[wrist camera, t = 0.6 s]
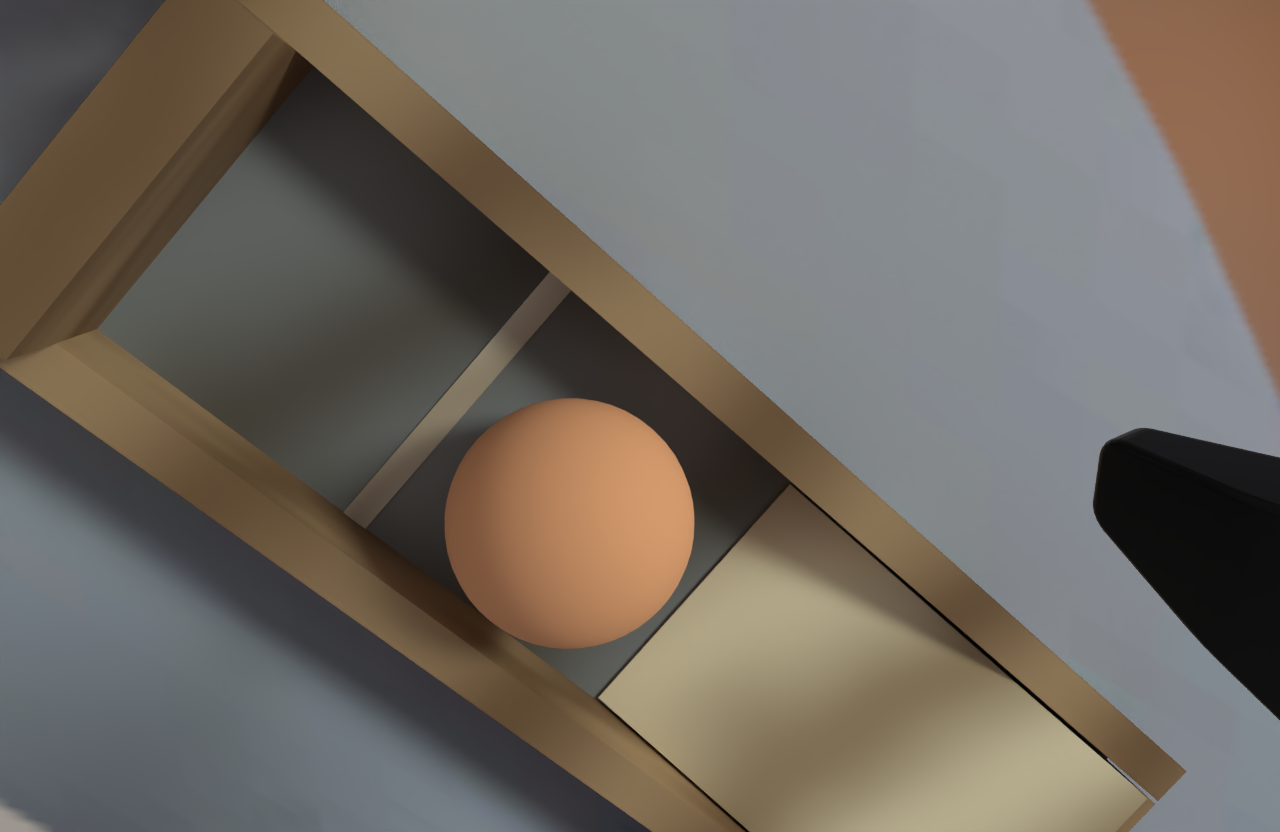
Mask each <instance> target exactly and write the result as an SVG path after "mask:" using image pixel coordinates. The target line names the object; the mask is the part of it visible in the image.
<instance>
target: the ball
mask: <svg viewBox="0 0 1280 832" xmlns="http://www.w3.org/2000/svg"><path fill="white" fill-rule="evenodd" d="M693 539H694V508H693V500H692V496H691V491H690V487H689V485H688V482H687V479H686V477H685V474H684V472H683V469H682V467H681V465H680V464H679V462H678V460H677V458H676V456H675V455H674V453H673V452H672V450H671V449H670V448H669V446H668V445H667V444H666V442H665V441H664V440H663V439H662V438H661V437H660V436H659V435H658V434H657V433H656V432H655V431H654V430H653V429H652V428H650V427H649V426H648V425H647V424H645V423H644V422H643V421H641V420H640V419H639V418H637V417H635V416H634V415H632V414H630V413H628V412H627V411H625V410H622V409H620V408H618V407H615V406H613V405H610V404H606V403H602V402H599V401H594V400H587V399H579V398H562V399H554V400H546V401H542V402H539V403H535V404H531V405H529V406H526V407H524V408H521V409H519V410H516V411H515V412H513V413H511V414H509V415H507V416H506V417H504V418H502V419H501V420H499V421H498V422H497V423H495V424H494V425H492V426H491V427H490V428H488V429H487V430H486V431H485V432H484V433H483V434H482V435H481V436H480V437H479V438H478V439H477V440H476V441H475V443H474V444H473V445H472V446H471V448H470V449H469V450H468V451H467V453H466V455H465V456H464V458H463V460H462V461H461V463H460V465H459V467H458V469H457V471H456V473H455V476H454V478H453V480H452V483H451V486H450V490H449V493H448V497H447V501H446V509H445V540H446V546H447V553H448V556H449V559H450V563H451V566H452V569H453V571H454V573H455V575H456V578H457V580H458V582H459V584H460V586H461V587H462V589H463V591H464V592H465V594H466V595H467V597H468V598H469V600H470V601H471V602H472V603H473V605H474V606H475V607H476V608H477V609H478V610H479V611H480V612H481V613H482V614H483V615H484V616H485V617H486V618H487V619H488V620H490V621H491V622H492V623H493V624H495V625H496V626H498V627H499V628H501V629H502V630H504V631H505V632H507V633H509V634H511V635H513V636H514V637H516V638H518V639H521V640H523V641H526V642H529V643H532V644H535V645H540V646H544V647H549V648H560V649H578V648H586V647H592V646H597V645H601V644H604V643H608V642H611V641H613V640H616V639H618V638H620V637H623V636H625V635H627V634H628V633H630V632H632V631H634V630H635V629H637V628H639V627H640V626H641V625H643V624H644V623H645V622H647V621H648V620H649V619H650V618H652V617H653V616H654V615H655V614H656V613H657V612H658V611H659V610H660V609H661V608H662V607H663V605H664V604H665V603H666V602H667V601H668V599H669V598H670V597H671V595H672V594H673V592H674V591H675V589H676V587H677V586H678V584H679V582H680V580H681V578H682V576H683V573H684V571H685V569H686V567H687V564H688V561H689V557H690V554H691V550H692V544H693Z"/></svg>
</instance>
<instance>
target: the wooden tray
mask: <svg viewBox="0 0 1280 832" xmlns="http://www.w3.org/2000/svg"><path fill="white" fill-rule="evenodd" d="M0 368H1V369H3V370H4V371H5V372H7V373H8V374H10V375H11V376H12V377H14V378H15V379H17V380H18V381H19V382H21V383H22V384H24V385H25V386H26V387H28V388H29V389H31V390H32V391H34V392H35V393H36V394H38V395H39V396H41V397H42V398H43V399H45V400H46V401H48V402H49V403H50V404H52V405H53V406H55V407H56V408H57V409H59V410H60V411H62V412H63V413H64V414H66V415H67V416H69V417H70V418H71V419H73V420H74V421H76V422H77V423H78V424H80V425H81V426H83V427H84V428H86V429H87V430H88V431H90V432H91V433H93V434H94V435H95V436H97V437H98V438H100V439H101V440H102V441H104V442H105V443H107V444H108V445H109V446H111V447H112V448H114V449H115V450H116V451H118V452H119V453H121V454H122V455H123V456H125V457H126V458H128V459H129V460H131V461H132V462H133V463H135V464H136V465H138V466H139V467H140V468H142V469H143V470H145V471H146V472H147V473H149V474H150V475H152V476H153V477H154V478H156V479H157V480H159V481H160V482H161V483H163V484H164V485H166V486H167V487H168V488H170V489H171V490H173V491H174V492H175V493H177V494H178V495H180V496H181V497H183V498H184V499H185V500H187V501H188V502H190V503H191V504H192V505H194V506H195V507H197V508H198V509H199V510H201V511H202V512H204V513H205V514H206V515H208V516H209V517H211V518H212V519H213V520H215V521H216V522H218V523H219V524H220V525H222V526H223V527H225V528H226V529H227V530H229V531H230V532H232V533H233V534H235V535H236V536H237V537H239V538H240V539H242V540H243V541H244V542H246V543H247V544H249V545H250V546H251V547H253V548H254V549H256V550H257V551H258V552H260V553H261V554H263V555H264V556H265V557H267V558H268V559H270V560H271V561H272V562H274V563H275V564H277V565H278V566H279V567H281V568H282V569H284V570H285V571H287V572H288V573H289V574H291V575H292V576H294V577H295V578H296V579H298V580H299V581H301V582H302V583H303V584H305V585H306V586H308V587H309V588H310V589H312V590H313V591H315V592H316V593H317V594H319V595H320V596H322V597H323V598H324V599H326V600H327V601H329V602H330V603H331V604H333V605H334V606H336V607H337V608H339V609H340V610H341V611H343V612H344V613H346V614H347V615H348V616H350V617H351V618H353V619H354V620H355V621H357V622H358V623H360V624H361V625H362V626H364V627H365V628H367V629H368V630H369V631H371V632H372V633H374V634H375V635H376V636H378V637H379V638H381V639H382V640H383V641H385V642H386V643H388V644H389V645H391V646H392V647H393V648H395V649H396V650H398V651H399V652H400V653H402V654H403V655H405V656H406V657H407V658H409V659H410V660H412V661H413V662H414V663H416V664H417V665H419V666H420V667H421V668H423V669H424V670H426V671H427V672H428V673H430V674H431V675H433V676H434V677H435V678H437V679H438V680H440V681H441V682H443V683H444V684H445V685H447V686H448V687H450V688H451V689H452V690H454V691H455V692H457V693H458V694H459V695H461V696H462V697H464V698H465V699H466V700H468V701H469V702H471V703H472V704H473V705H475V706H476V707H478V708H479V709H480V710H482V711H483V712H485V713H486V714H487V715H489V716H490V717H492V718H493V719H495V720H496V721H497V722H499V723H500V724H502V725H503V726H504V727H506V728H507V729H509V730H510V731H511V732H513V733H514V734H516V735H517V736H518V737H520V738H521V739H523V740H524V741H525V742H527V743H528V744H530V745H531V746H532V747H534V748H535V749H537V750H538V751H539V752H541V753H542V754H544V755H545V756H547V757H548V758H549V759H551V760H552V761H554V762H555V763H556V764H558V765H559V766H561V767H562V768H563V769H565V770H566V771H568V772H569V773H570V774H572V775H573V776H575V777H576V778H577V779H579V780H580V781H582V782H583V783H584V784H586V785H587V786H589V787H590V788H591V789H593V790H594V791H596V792H597V793H599V794H600V795H601V796H603V797H604V798H606V799H607V800H608V801H610V802H611V803H613V804H614V805H615V806H617V807H618V808H620V809H621V810H622V811H624V812H625V813H627V814H628V815H629V816H631V817H632V818H634V819H635V820H636V821H638V822H639V823H641V824H642V825H644V826H645V827H646V828H648V829H649V830H651V831H652V832H1129V831H1130V830H1131V829H1132V828H1133V827H1134V825H1135V824H1136V823H1137V822H1138V821H1139V820H1140V819H1141V818H1142V817H1143V816H1144V815H1145V814H1146V813H1147V812H1148V811H1149V810H1150V809H1151V808H1152V807H1153V806H1154V805H1155V804H1154V803H1153V802H1152V801H1151V800H1150V799H1149V798H1148V797H1147V796H1146V795H1145V794H1144V793H1143V792H1141V791H1140V790H1139V789H1138V788H1137V787H1136V786H1135V785H1134V784H1133V783H1132V782H1131V781H1130V780H1128V779H1127V778H1126V777H1125V776H1124V775H1123V774H1122V773H1121V772H1120V771H1119V770H1118V769H1116V768H1115V767H1114V766H1113V765H1112V764H1111V763H1110V762H1109V761H1108V760H1107V758H1109V759H1110V760H1111V761H1112V762H1114V763H1115V764H1116V765H1117V766H1118V767H1119V768H1121V769H1122V770H1123V771H1124V772H1125V773H1126V774H1127V775H1129V776H1130V777H1131V778H1132V779H1133V780H1134V781H1135V782H1137V783H1138V784H1139V785H1140V786H1141V787H1142V788H1143V789H1145V790H1146V791H1147V792H1148V793H1149V794H1150V795H1152V796H1153V797H1154V798H1155V799H1156V800H1157V801H1159V799H1160V798H1161V797H1162V796H1163V795H1164V794H1165V793H1166V792H1167V791H1168V790H1169V789H1170V788H1171V787H1172V786H1173V785H1174V784H1175V783H1176V782H1177V781H1178V780H1179V779H1180V778H1181V777H1182V776H1183V775H1184V773H1185V772H1186V770H1184V769H1183V768H1182V767H1181V766H1180V765H1179V764H1178V763H1177V762H1175V761H1174V760H1173V759H1172V758H1171V757H1170V756H1169V755H1168V754H1167V753H1165V752H1164V751H1163V750H1162V749H1161V748H1160V747H1159V746H1158V745H1156V744H1155V743H1154V742H1153V741H1152V740H1151V739H1150V738H1149V737H1147V736H1146V735H1145V734H1144V733H1143V732H1142V731H1141V730H1140V729H1139V728H1137V727H1136V726H1135V725H1134V724H1133V723H1132V722H1131V721H1130V720H1128V719H1127V718H1126V717H1125V716H1124V715H1123V714H1122V713H1121V712H1120V711H1118V710H1117V709H1116V708H1115V707H1114V706H1113V705H1112V704H1111V703H1109V702H1108V701H1107V700H1106V699H1105V698H1104V697H1103V696H1102V695H1100V694H1099V693H1098V692H1097V691H1096V690H1095V689H1094V688H1093V687H1092V686H1090V685H1089V684H1088V683H1087V682H1086V681H1085V680H1084V679H1083V678H1081V677H1080V676H1079V675H1078V674H1077V673H1076V672H1075V671H1074V670H1072V669H1071V668H1070V667H1069V666H1068V665H1067V664H1066V663H1065V662H1064V661H1062V660H1061V659H1060V658H1059V657H1058V656H1057V655H1056V654H1055V653H1053V652H1052V651H1051V650H1050V649H1049V648H1048V647H1047V646H1046V645H1045V644H1043V643H1042V642H1041V641H1040V640H1039V639H1038V638H1037V637H1036V636H1034V635H1033V634H1032V633H1031V632H1030V631H1029V630H1028V629H1027V628H1025V627H1024V626H1023V625H1022V624H1021V623H1020V622H1019V621H1018V620H1017V619H1015V618H1014V617H1013V616H1012V615H1011V614H1010V613H1009V612H1008V611H1006V610H1005V609H1004V608H1003V607H1002V606H1001V605H1000V604H999V603H998V602H996V601H995V600H994V599H993V598H992V597H991V596H990V595H989V594H987V593H986V592H985V591H984V590H983V589H982V588H981V587H980V586H978V585H977V584H976V583H975V582H974V581H973V580H972V579H971V578H970V577H968V576H967V575H966V574H965V573H964V572H963V571H962V570H961V569H959V568H958V567H957V566H956V565H955V564H954V563H953V562H952V561H950V560H949V559H948V558H947V557H946V556H945V555H944V554H943V553H942V552H940V551H939V550H938V549H937V548H936V547H935V546H934V545H933V544H931V543H930V542H929V541H928V540H927V539H926V538H925V537H924V536H923V535H921V534H920V533H919V532H918V531H917V530H916V529H915V528H914V527H912V526H911V525H910V524H909V523H908V522H907V521H906V520H905V519H903V518H902V517H901V516H900V515H899V514H898V513H897V512H896V511H895V510H893V509H892V508H891V507H890V506H889V505H888V504H887V503H886V502H884V501H883V500H882V499H881V498H880V497H879V496H878V495H877V494H876V493H874V492H873V491H872V490H871V489H870V488H869V487H868V486H867V485H865V484H864V483H863V482H862V481H861V480H860V479H859V478H858V477H856V476H855V475H854V474H853V473H852V472H851V471H850V470H849V469H848V468H846V467H845V466H844V465H843V464H842V463H841V462H840V461H839V460H837V459H836V458H835V457H834V456H833V455H832V454H831V453H830V452H828V451H827V450H826V449H825V448H824V447H823V446H822V445H821V444H820V443H818V442H817V441H816V440H815V439H814V438H813V437H812V436H811V435H809V434H808V433H807V432H806V431H805V430H804V429H803V428H802V427H801V426H799V425H798V424H797V423H796V422H795V421H794V420H793V419H792V418H790V417H789V416H788V415H787V414H786V413H785V412H784V411H783V410H781V409H780V408H779V407H778V406H777V405H776V404H775V403H774V402H773V401H771V400H770V399H769V398H768V397H767V396H766V395H765V394H764V393H762V392H761V391H760V390H759V389H758V388H757V387H756V386H755V385H754V384H752V383H751V382H750V381H749V380H748V379H747V378H746V377H745V376H743V375H742V374H741V373H740V372H739V371H738V370H737V369H736V368H734V367H733V366H732V365H731V364H730V363H729V362H728V361H727V360H726V359H724V358H723V357H722V356H721V355H720V354H719V353H718V352H717V351H715V350H714V349H713V348H712V347H711V346H710V345H709V344H708V343H707V342H705V341H704V340H703V339H702V338H701V337H700V336H699V335H698V334H696V333H695V332H694V331H693V330H692V329H691V328H690V327H689V326H687V325H686V324H685V323H684V322H683V321H682V320H681V319H680V318H679V317H677V316H676V315H675V314H674V313H673V312H672V311H671V310H670V309H668V308H667V307H666V306H665V305H664V304H663V303H662V302H661V301H659V300H658V299H657V298H656V297H655V296H654V295H653V294H652V293H651V292H649V291H648V290H647V289H646V288H645V287H644V286H643V285H642V284H640V283H639V282H638V281H637V280H636V279H635V278H634V277H633V276H632V275H630V274H629V273H628V272H627V271H626V270H625V269H624V268H623V267H621V266H620V265H619V264H618V263H617V262H616V261H615V260H614V259H612V258H611V257H610V256H609V255H608V254H607V253H606V252H605V251H604V250H602V249H601V248H600V247H599V246H598V245H597V244H596V243H595V242H593V241H592V240H591V239H590V238H589V237H588V236H587V235H586V234H585V233H583V232H582V231H581V230H580V229H579V228H578V227H577V226H576V225H574V224H573V223H572V222H571V221H570V220H569V219H568V218H567V217H565V216H564V215H563V214H562V213H561V212H560V211H559V210H558V209H557V208H555V207H554V206H553V205H552V204H551V203H550V202H549V201H548V200H546V199H545V198H544V197H543V196H542V195H541V194H540V193H539V192H537V191H536V190H535V189H534V188H533V187H532V186H531V185H530V184H529V183H527V182H526V181H525V180H524V179H523V178H522V177H521V176H520V175H518V174H517V173H516V172H515V171H514V170H513V169H512V168H511V167H510V166H508V165H507V164H506V163H505V162H504V161H503V160H502V159H501V158H499V157H498V156H497V155H496V154H495V153H494V152H493V151H492V150H490V149H489V148H488V147H487V146H486V145H485V144H484V143H483V142H482V141H480V140H479V139H478V138H477V137H476V136H475V135H474V134H473V133H471V132H470V131H469V130H468V129H467V128H466V127H465V126H464V125H463V124H461V123H460V122H459V121H458V120H457V119H456V118H455V117H454V116H452V115H451V114H450V113H449V112H448V111H447V110H446V109H445V108H443V107H442V106H441V105H440V104H439V103H438V102H437V101H436V100H435V99H433V98H432V97H431V96H430V95H429V94H428V93H427V92H426V91H424V90H423V89H422V88H421V87H420V86H419V85H418V84H417V83H415V82H414V81H413V80H412V79H411V78H410V77H409V76H408V75H407V74H405V73H404V72H403V71H402V70H401V69H400V68H399V67H398V66H396V65H395V64H394V63H393V62H392V61H391V60H390V59H389V58H388V57H386V56H385V55H384V54H383V53H382V52H381V51H380V50H379V49H377V48H376V47H375V46H374V45H373V44H372V43H371V42H370V41H368V40H367V39H366V38H365V37H364V36H363V35H362V34H361V33H360V32H358V31H357V30H356V29H355V28H354V27H353V26H352V25H351V24H349V23H348V22H347V21H346V20H345V19H344V18H343V17H342V16H341V15H339V14H338V13H337V12H336V11H335V10H334V9H333V8H332V7H330V6H329V5H328V4H327V3H326V2H325V1H324V0H165V1H164V2H163V4H162V5H161V6H160V7H159V9H158V10H157V11H156V12H155V14H154V15H153V16H152V17H151V19H150V20H149V21H148V22H147V24H146V25H145V26H144V27H143V28H142V30H141V31H140V32H139V33H138V35H137V36H136V37H135V38H134V40H133V41H132V42H131V43H130V45H129V46H128V47H127V48H126V50H125V51H124V52H123V53H122V55H121V56H120V57H119V58H118V60H117V61H116V62H115V63H114V64H113V66H112V67H111V68H110V69H109V71H108V72H107V73H106V74H105V76H104V77H103V78H102V79H101V81H100V82H99V83H98V84H97V86H96V87H95V88H94V89H93V91H92V92H91V93H90V94H89V96H88V97H87V98H86V99H85V101H84V102H83V103H82V104H81V105H80V107H79V108H78V109H77V110H76V112H75V113H74V114H73V115H72V117H71V118H70V119H69V120H68V122H67V123H66V124H65V125H64V127H63V128H62V129H61V130H60V132H59V133H58V134H57V135H56V137H55V138H54V139H53V140H52V141H51V143H50V144H49V145H48V146H47V148H46V149H45V150H44V151H43V153H42V154H41V155H40V156H39V158H38V159H37V160H36V161H35V163H34V164H33V165H32V166H31V168H30V169H29V170H28V171H27V173H26V174H25V175H24V176H23V177H22V179H21V180H20V181H19V182H18V184H17V185H16V186H15V187H14V189H13V190H12V191H11V192H10V194H9V195H8V196H7V197H6V199H5V200H4V201H3V202H2V204H1V205H0ZM562 398H579V399H587V400H594V401H599V402H602V403H606V404H610V405H613V406H615V407H618V408H620V409H622V410H625V411H627V412H628V413H630V414H632V415H634V416H635V417H637V418H639V419H640V420H641V421H643V422H644V423H645V424H647V425H648V426H649V427H650V428H652V429H653V430H654V431H655V432H656V433H657V434H658V435H659V436H660V437H661V438H662V439H663V440H664V441H665V442H666V444H667V445H668V446H669V448H670V449H671V450H672V452H673V453H674V455H675V456H676V458H677V460H678V462H679V464H680V465H681V467H682V469H683V472H684V474H685V477H686V479H687V482H688V485H689V487H690V491H691V496H692V500H693V508H694V539H693V544H692V550H691V554H690V557H689V561H688V564H687V567H686V569H685V571H684V573H683V576H682V578H681V580H680V582H679V584H678V586H677V587H676V589H675V591H674V592H673V594H672V595H671V597H670V598H669V599H668V601H667V602H666V603H665V604H664V605H663V607H662V608H661V609H660V610H659V611H658V612H657V613H656V614H655V615H654V616H653V617H652V618H650V619H649V620H648V621H647V622H645V623H644V624H643V625H641V626H640V627H639V628H637V629H635V630H634V631H632V632H630V633H628V634H627V635H625V636H623V637H620V638H618V639H616V640H613V641H611V642H608V643H604V644H601V645H597V646H592V647H586V648H578V649H560V648H549V647H544V646H540V645H535V644H532V643H529V642H526V641H523V640H521V639H518V638H516V637H514V636H513V635H511V634H509V633H507V632H505V631H504V630H502V629H501V628H499V627H498V626H496V625H495V624H493V623H492V622H491V621H490V620H488V619H487V618H486V617H485V616H484V615H483V614H482V613H481V612H480V611H479V610H478V609H477V608H476V607H475V606H474V605H473V603H472V602H471V601H470V600H469V598H468V597H467V595H466V594H465V592H464V591H463V589H462V587H461V586H460V584H459V582H458V580H457V578H456V575H455V573H454V571H453V569H452V566H451V563H450V559H449V556H448V553H447V546H446V540H445V509H446V501H447V497H448V493H449V490H450V486H451V483H452V480H453V478H454V476H455V473H456V471H457V469H458V467H459V465H460V463H461V461H462V460H463V458H464V456H465V455H466V453H467V451H468V450H469V449H470V448H471V446H472V445H473V444H474V443H475V441H476V440H477V439H478V438H479V437H480V436H481V435H482V434H483V433H484V432H485V431H486V430H487V429H488V428H490V427H491V426H492V425H494V424H495V423H497V422H498V421H499V420H501V419H502V418H504V417H506V416H507V415H509V414H511V413H513V412H515V411H516V410H519V409H521V408H524V407H526V406H529V405H531V404H535V403H539V402H542V401H546V400H554V399H562Z"/></svg>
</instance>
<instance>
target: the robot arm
mask: <svg viewBox="0 0 1280 832" xmlns="http://www.w3.org/2000/svg"><path fill="white" fill-rule="evenodd" d="M1093 509H1094V514H1095V516H1096V519H1097V521H1098V523H1099V525H1100V526H1101V528H1102V529H1103V530H1104V532H1105V533H1106V534H1107V535H1108V536H1109V537H1110V539H1111V540H1112V541H1113V542H1114V543H1115V544H1116V546H1117V547H1118V548H1119V549H1120V550H1121V551H1122V553H1123V554H1124V555H1125V556H1126V557H1127V558H1128V560H1129V561H1130V562H1131V563H1132V564H1133V565H1134V567H1135V568H1136V569H1137V570H1138V571H1139V572H1140V574H1141V575H1142V576H1143V577H1144V578H1145V579H1146V581H1147V582H1148V583H1149V584H1150V585H1151V586H1152V588H1153V589H1154V590H1155V591H1156V592H1157V593H1158V595H1159V596H1160V597H1161V598H1162V599H1163V600H1164V602H1165V603H1166V604H1167V605H1168V606H1169V607H1170V609H1171V610H1172V611H1173V612H1174V613H1175V614H1176V616H1177V617H1178V618H1179V619H1180V620H1181V621H1182V623H1183V624H1184V625H1185V626H1186V627H1187V628H1188V629H1189V630H1190V632H1191V633H1192V634H1193V635H1194V636H1195V637H1196V638H1197V639H1198V640H1199V642H1200V643H1201V644H1202V645H1203V646H1204V647H1205V648H1206V649H1207V650H1208V651H1209V652H1210V653H1211V654H1212V655H1213V656H1214V657H1215V658H1216V659H1217V660H1218V661H1219V662H1220V663H1221V664H1222V665H1223V666H1224V667H1225V668H1226V669H1227V670H1228V671H1229V672H1230V673H1231V674H1232V675H1233V676H1234V677H1235V678H1236V679H1237V680H1238V681H1240V682H1241V683H1242V684H1243V685H1244V686H1245V687H1246V688H1247V689H1248V690H1249V691H1250V692H1251V693H1252V694H1253V695H1254V696H1255V697H1256V698H1257V699H1258V700H1259V701H1260V702H1261V703H1262V704H1263V705H1264V706H1265V707H1266V708H1267V709H1269V710H1270V711H1271V712H1272V713H1273V714H1274V715H1275V716H1276V717H1277V718H1278V719H1279V720H1280V458H1279V457H1275V456H1270V455H1266V454H1261V453H1257V452H1253V451H1248V450H1244V449H1239V448H1235V447H1230V446H1226V445H1221V444H1217V443H1212V442H1208V441H1204V440H1199V439H1195V438H1190V437H1186V436H1181V435H1177V434H1172V433H1168V432H1163V431H1159V430H1155V429H1150V428H1139V429H1134V430H1132V431H1129V432H1127V433H1125V434H1122V435H1120V436H1118V437H1116V438H1113V439H1111V440H1109V441H1108V442H1106V443H1105V445H1104V446H1103V447H1102V449H1101V452H1100V456H1099V463H1098V471H1097V478H1096V485H1095V492H1094V499H1093Z"/></svg>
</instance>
